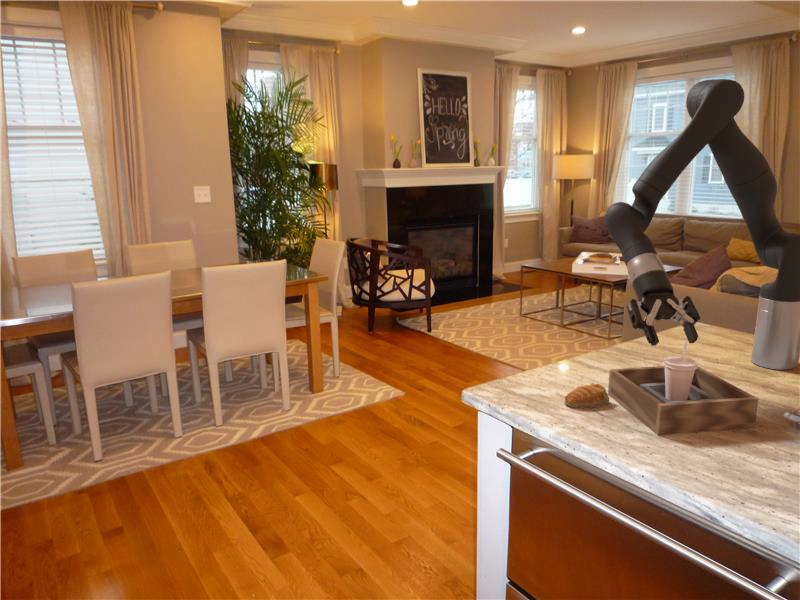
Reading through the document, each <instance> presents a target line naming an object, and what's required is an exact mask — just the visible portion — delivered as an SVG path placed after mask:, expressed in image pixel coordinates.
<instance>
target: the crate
mask: <svg viewBox="0 0 800 600" xmlns="http://www.w3.org/2000/svg"><path fill="white" fill-rule="evenodd" d="M608 374H609V375H608V376H609V378H608V390H607V394H608V397H610V398H611V399H613V401H615V402H616V403H617V404H618V405H620V407H623V408H624V409H625V410H626V411H627V412H629V414H631V415H632V416H634V417H635V418H636V419H637V420H639V421H640V422H641V423H642V424H644V426H646V427H647V428H648V429H649V430H651V431H652V432H653V433H655V435H657V436H667V435H678V434H690V433H692V434H693V433H704V432H706V433H707V432H716V431H717V432H719V431H731V430H743V429H744V430H745V429H755V428H756V422H757V421H756V420H757V413H758V408H759V407H758V406H759V405H758V404H759V398H758V397H756V396H754V395H753V394H750V393H749V392H747V391H745V390H743V389H741V388H740V387H737V386H736V385H734V384H732V383H730V382H728V381H726V380H724V379H722V378H721V377H718V376H717V375H715V374H713V373H712V372H709V371H708V370H706V369H705V368H702V367H700V366H698V365H697V369H696V370H695V372H694V376H693V380H692V384H691V387H690V391H689V395H688V399H687V400H686V401H669V400H668V399H666V391H665V366H664V365H658V366H645V367H644V366H642V367H641V366H640V367H629V368H628V367H627V368H610V369H609V373H608Z"/></svg>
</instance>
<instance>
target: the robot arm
mask: <svg viewBox="0 0 800 600" xmlns="http://www.w3.org/2000/svg"><path fill="white" fill-rule="evenodd" d="M686 96H687V97H686V101H685V105H686V111H687V113H688V115H689V117H690V119H691V120H690V121H689V123H688V124H687V125H686V127H685V128H684V129H683V131H682V132H681V133H680V134H678V136H677V137H676V138H674V140H673V141H672V142H671V143H669V145H667V146H666V147H665V148H663V150H661V151H660V152H659V153H658V154H657V155H656V156H655V157H654V158H653V159H652V160H651V161H650V162H649V164H648V165H647V166H646V168H645V169H644V170H643V171H642V172H641V174H640V176H639V177H638V178H637V180H635V183H634V184H633V186H632V188H631V189H632V194H633V195H634V200H633V202H632V203H631V204H632V205H631V204H629V203H627V202H623V201H618V202H617V201H616V202H614V203H613V204H611V205H610V206H609V207H608V208H607V210H606V211H605V215H604V222H605V226H606V230H607V231H608V233H609V235H610V237H611V238H612V239H613V241H614V243H615V245H616V246H617V247H618V249H619V251H620V253H621V256H622V258H623V259H622V260H623V262H624V264H625V266H626V270H627V276H628V277H629V278H628V279H629V281H630V284H631V286H632V288H633V291H634V293H635V296H636V299H637V300H636V299H635V298H632V299H631V300H630V301H629V303H627V305H626V309H627V313H628V316H629V320H630V323H631V326H632V328H633V329H635V330H637V329H639V330H640V329H641V330H642V331H643V333H644V335H645V338H646V341H647V343H649V344H650V346H651V347H653V346H657V345H658V344H659V341H660V339H659V336H658V333H657V332H656V329H655V326H654V325H652V324H653V322H654V320H655V321H661V320H671V321H672V322H674V323H678V325H680V326H681V327H683V331H684V334H685V337H686V339H687V342H688V343H689V344H694V343H696V342H697V341H698V339H699V334H698V332H697V329H696V327H695V325H696V324H697V322H698V321H700V320H701V316H700V313H699V312H698V310H697V308H696V306H695V304H694V302H693V300H692V298H691V297H690V296H689V295H687V296H685V297H683V298H677V297H676V295H675V292H674V287H673V285H672V283H671V281H670V278H669V276H668V273H667V271H666V268H665V266H664V264H663V262H662V260H661V259H660V257H659V255H658V253H657V250H656V248H655V245H654V244H653V241H652V240H651V238H649V236H647V235H646V234H645V232H646V231H647V229H648V228H649V226H650V224H651V223H652V220H653V218H654V216H655V214H656V212H657V209H658V207H659V204H660V202H661V200H662V199H663V198H664V197H665V196H666V194H667V193H668V191H669V190H670V188H672V186H673V185H674V183H675V182H676V180H677V179H678V178H679V176H680V175H681V174H682V173H683V172H684V170H686V168H687V167H688V165H690V163H692V161H693V160H694V159H695V158H696V157H697V155H699V153H700V152H701V151H702V150H703V149H704V148H705V147H706V146H707V145H708V147H709V149H710V151H711V153H712V156H713V159H714V160H715V162H716V165H717V167H718V168H719V172H720V173H721V175H722V177H723V179H724V182H725V185H726V187H727V188H728V190H729V192H730V194H731V197H732V198H733V199H734V202H735V203H736V205H737V208H738V209H739V211H740V214H741V217H742V219H743V220H744V222H745V224H746V226H747V230H748V231H749V235H750V238H751V240H752V244H753V246H754V250H755V253H756V256H757V257H758V259H759V261H760V262H761V263H762V264H763V265H764V266H766V267H768V268H771V269H774V270H777V274H776V278H775V280H774V281H772V282H766V283H763V284H762V285H761V287H760V290H759V296H758V297H759V298H758V305H757V313H756V320H755V321H756V322H755V328H754V335H753V344H752V350H751V359H750V361H751V362H752V363H753V364H754V365H756V366H758V367H759V366H760V367H761V368H765V369H772V370H784V371H785V370H792V369H794V368H795V367H798V365H799V360H800V359H799V358H800V233H795V232H789V231H788V232H787V231H786V230H784V229H783V226H781V224H780V222H779V220H778V217H777V215H776V212H775V203H776V199H777V193H778V183H777V180H776V177H775V175H774V173H773V171H772V168H771V166H770V164H769V162H768V160H767V159H766V157H765V156H764V154H763V153H762V152H761V151H760V149H759V148H758V147H757V146H756V145H755V144H754V143H753V142H752V141H751V140H750V139H749V138H748V136H747V135H746V134H744V133H743V131H742V130H741V129H740V127H739V125H738V124H737V122H736V119H735V116H737V114H738V113H739V112H740V111H741V108H742V107H743V106H744V103H745V91H744V88H743V86H742V85H741V84H740V83H739V82H738V81H736V80H734V79H725V78H719V79H718V78H716V79H715V78H714V79H713V78H712V79H706V80H701V81H699V82H696V83H695V84H694V85H693V86H692V87H691V88H690V90H689V91H688V93H687V95H686ZM640 309H641V310H642V311H643V312H644V313H645V317H644V319H643V317H642V314H641V310H640ZM676 313H677V314H678V315H676Z"/></svg>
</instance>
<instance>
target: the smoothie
mask: <svg viewBox="0 0 800 600" xmlns="http://www.w3.org/2000/svg"><path fill="white" fill-rule="evenodd" d="M682 345H683V346H682V347H683V348H682V355H681V356H676V355H675V356H673V355H671V356H670V355H669V356H667V357H664V358H663V362H662V364H663V365H662V366H665V391H666V399H668V400H669V401H686V400H687V399H688V395H689V391H690V387H691V384H692V380H693V376H694V372H695V370H696V369H697V366H698V362H697V361H696V360H694V359H692V358H689V357H686V354H687V353H686V352H687V346H688V340H683V344H682Z"/></svg>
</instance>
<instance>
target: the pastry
mask: <svg viewBox="0 0 800 600" xmlns="http://www.w3.org/2000/svg"><path fill="white" fill-rule="evenodd" d="M609 397H610V396H609V395H608V392H607V389H606V388H605V386H603V385H602V384H599V383H590V384H587V385H580V386H579V385H578V386H577V387H576V388H575V389H574V390H571V391H570V392H569V393H568V394H566V396H565V397H564V404H565V405H566V406H569V407H571V408H573V409H574V408H575V409H592V407H593V408H596V407H597V406H598V407H601V406H602V405H603V406H606V405H607V404H608V403H610V398H609ZM605 404H606V405H605ZM598 407H597V408H598Z"/></svg>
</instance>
